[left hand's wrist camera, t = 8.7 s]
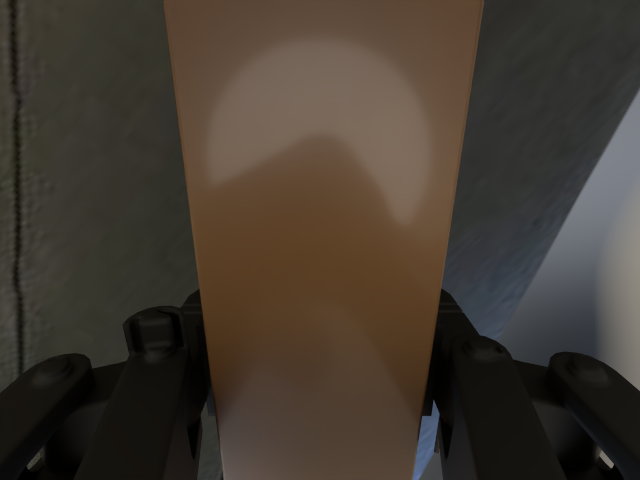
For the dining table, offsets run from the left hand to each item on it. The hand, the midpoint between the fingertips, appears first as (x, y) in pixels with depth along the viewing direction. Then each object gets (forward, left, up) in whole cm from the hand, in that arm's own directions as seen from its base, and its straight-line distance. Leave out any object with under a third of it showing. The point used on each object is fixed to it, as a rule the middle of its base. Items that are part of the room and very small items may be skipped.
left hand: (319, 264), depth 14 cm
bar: (-3, +25, -1) cm, 25 cm away
